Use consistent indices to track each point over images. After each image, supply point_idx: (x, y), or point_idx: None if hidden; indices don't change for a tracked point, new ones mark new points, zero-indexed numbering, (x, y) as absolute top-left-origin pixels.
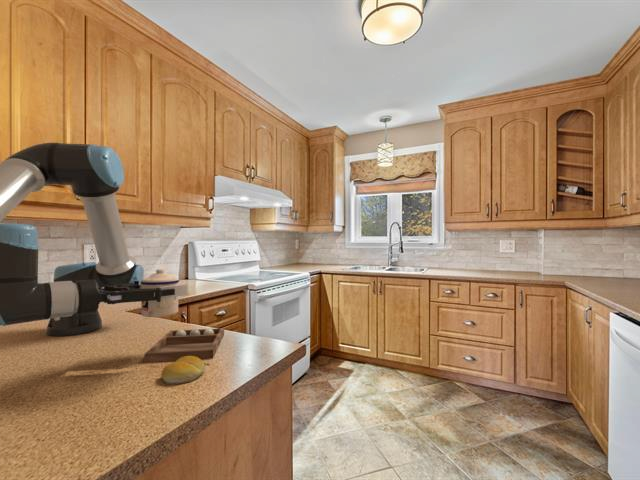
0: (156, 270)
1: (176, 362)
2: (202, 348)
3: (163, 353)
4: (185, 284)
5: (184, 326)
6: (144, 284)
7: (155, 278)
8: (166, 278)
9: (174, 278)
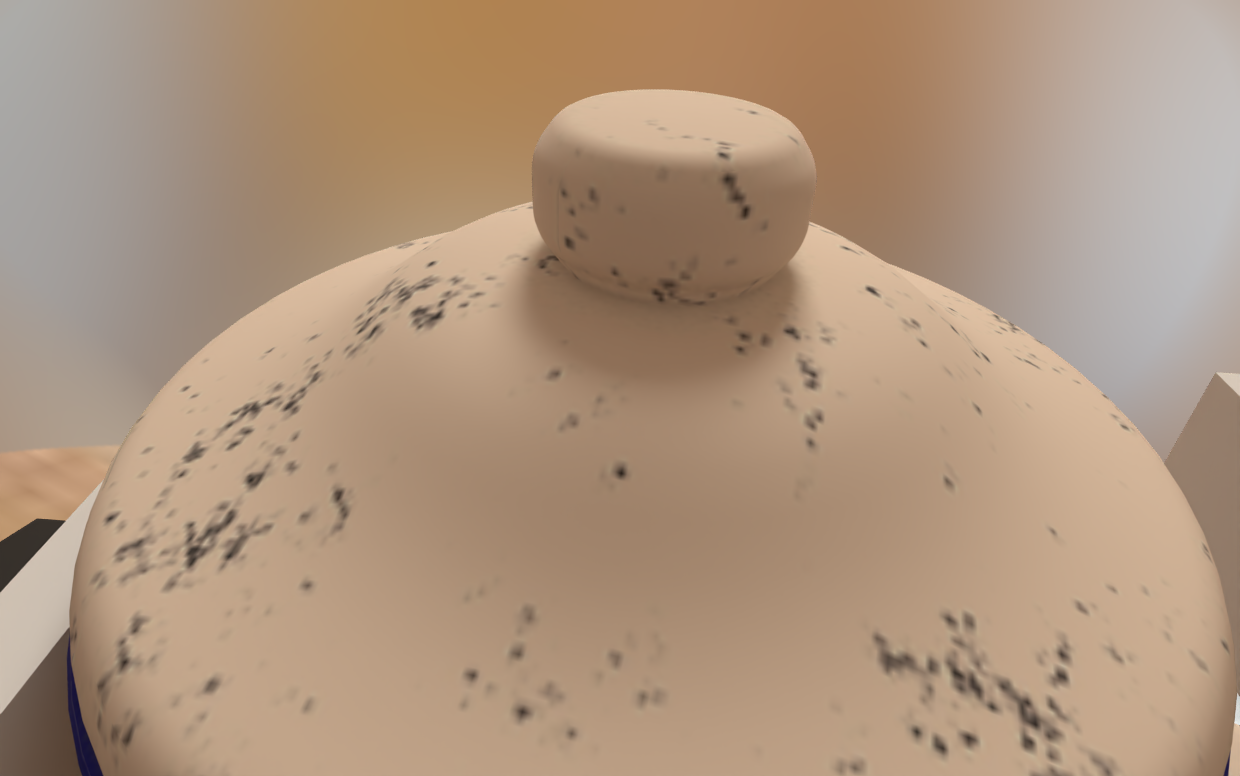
0: (661, 201)
1: None
2: None
3: None
4: (1230, 374)
5: (41, 490)
6: None
7: (1037, 587)
8: (1057, 397)
9: (956, 296)
